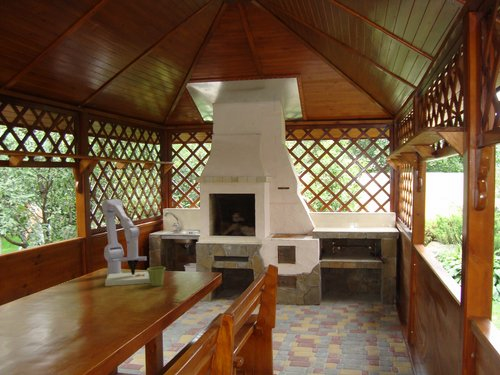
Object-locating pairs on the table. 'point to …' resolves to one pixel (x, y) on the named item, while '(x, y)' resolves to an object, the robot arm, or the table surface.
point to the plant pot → (156, 275)
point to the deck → (127, 279)
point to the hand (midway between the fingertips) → (133, 274)
